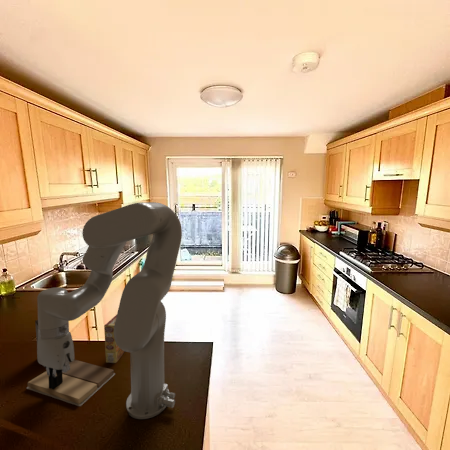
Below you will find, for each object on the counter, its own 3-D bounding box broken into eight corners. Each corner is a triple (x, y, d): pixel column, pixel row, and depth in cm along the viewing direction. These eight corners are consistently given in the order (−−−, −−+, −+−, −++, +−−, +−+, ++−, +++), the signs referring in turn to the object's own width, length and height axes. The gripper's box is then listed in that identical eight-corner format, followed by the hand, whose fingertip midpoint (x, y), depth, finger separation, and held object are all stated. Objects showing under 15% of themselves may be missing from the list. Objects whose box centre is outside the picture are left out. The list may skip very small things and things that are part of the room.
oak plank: (97, 388, 76) (97, 384, 76) (79, 404, 70) (79, 399, 70) (48, 374, 82) (48, 369, 82) (27, 386, 76) (27, 382, 76)
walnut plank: (113, 374, 83) (113, 369, 82) (98, 387, 76) (98, 383, 76) (67, 361, 89) (67, 357, 89) (49, 373, 83) (49, 369, 82)
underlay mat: (115, 376, 83) (115, 373, 83) (80, 409, 70) (80, 406, 69) (67, 363, 89) (67, 360, 89) (26, 391, 76) (26, 388, 76)
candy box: (116, 365, 88) (115, 325, 87) (105, 364, 89) (103, 325, 87) (127, 350, 97) (126, 314, 96) (117, 350, 98) (116, 314, 96)
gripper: (83, 327, 74) (85, 383, 76) (48, 319, 79) (50, 371, 80) (61, 340, 67) (62, 401, 69) (23, 330, 72) (25, 388, 73)
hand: (55, 385), depth 75 cm, fingers closed
